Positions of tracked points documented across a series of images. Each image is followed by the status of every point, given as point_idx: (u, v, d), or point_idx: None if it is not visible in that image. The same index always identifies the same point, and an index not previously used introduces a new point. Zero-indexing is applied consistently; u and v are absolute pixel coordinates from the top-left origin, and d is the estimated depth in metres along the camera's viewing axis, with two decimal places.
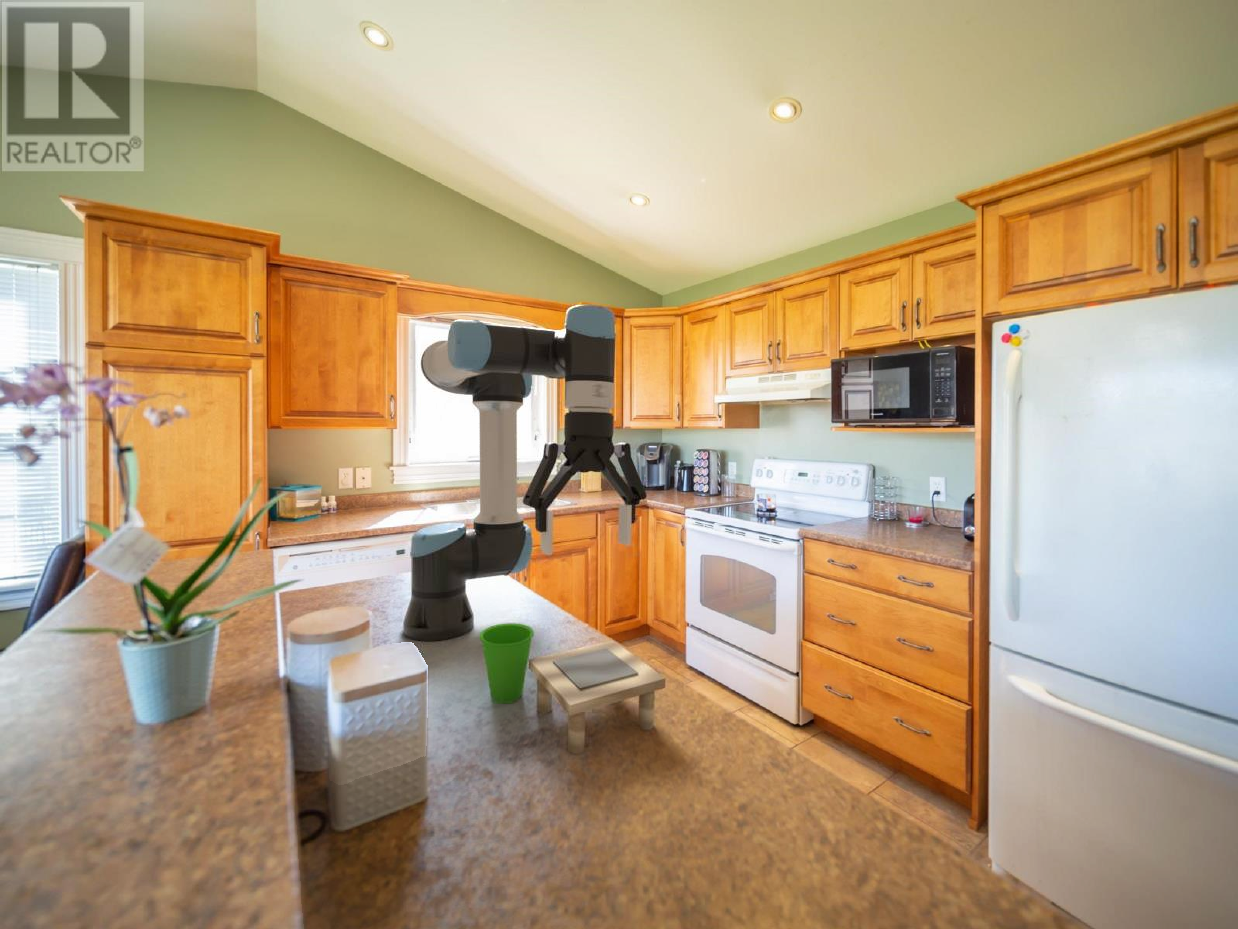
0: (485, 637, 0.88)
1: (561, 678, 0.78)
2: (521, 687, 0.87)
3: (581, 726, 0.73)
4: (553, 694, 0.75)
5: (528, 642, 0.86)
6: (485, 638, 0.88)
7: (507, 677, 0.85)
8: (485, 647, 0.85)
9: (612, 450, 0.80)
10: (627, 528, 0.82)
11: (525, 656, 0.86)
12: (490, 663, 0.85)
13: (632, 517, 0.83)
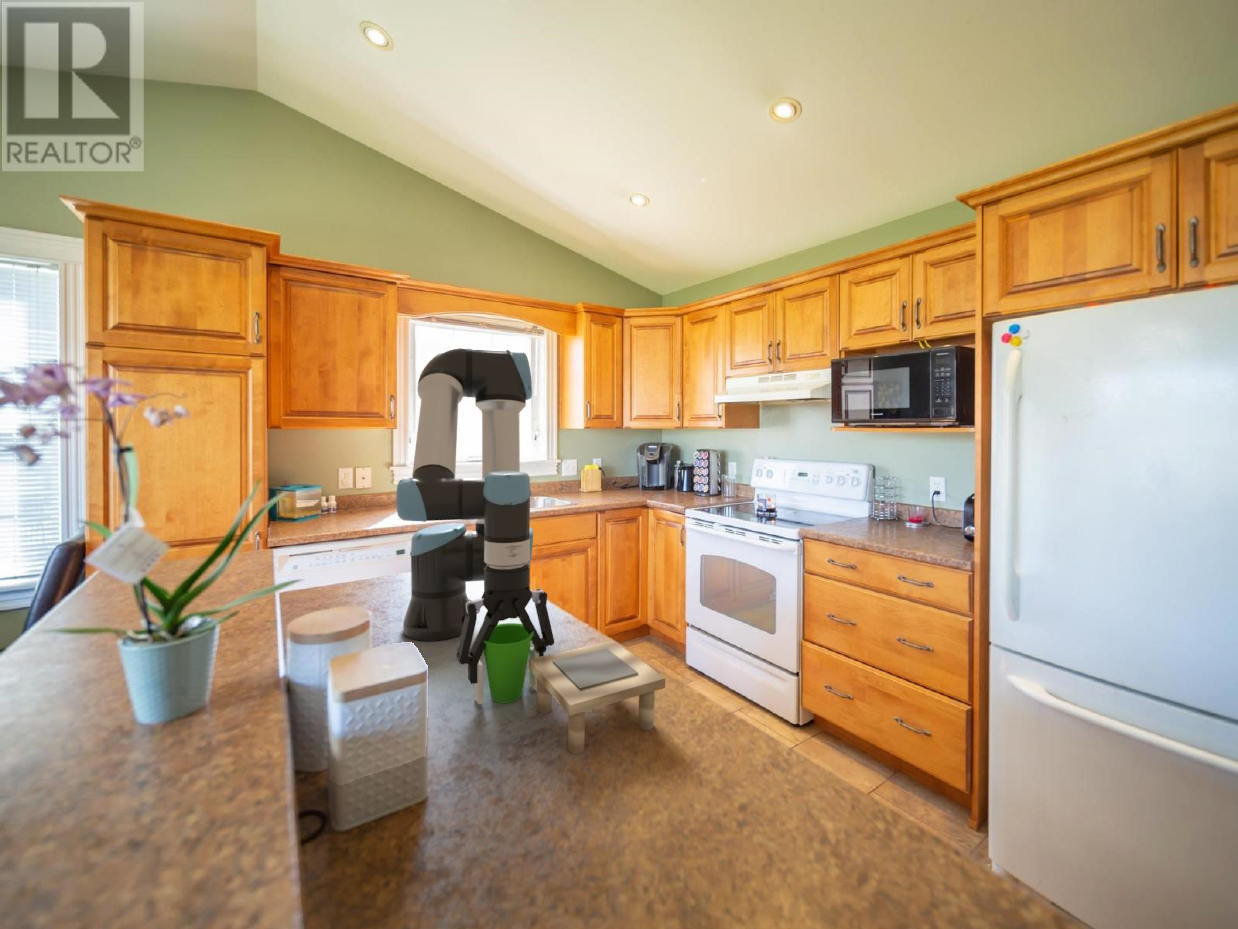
0: None
1: (561, 678, 0.78)
2: (521, 687, 0.87)
3: (581, 726, 0.73)
4: (553, 694, 0.75)
5: (528, 642, 0.86)
6: None
7: (507, 677, 0.84)
8: (485, 647, 0.85)
9: (529, 597, 0.88)
10: None
11: (525, 656, 0.86)
12: (490, 663, 0.85)
13: None
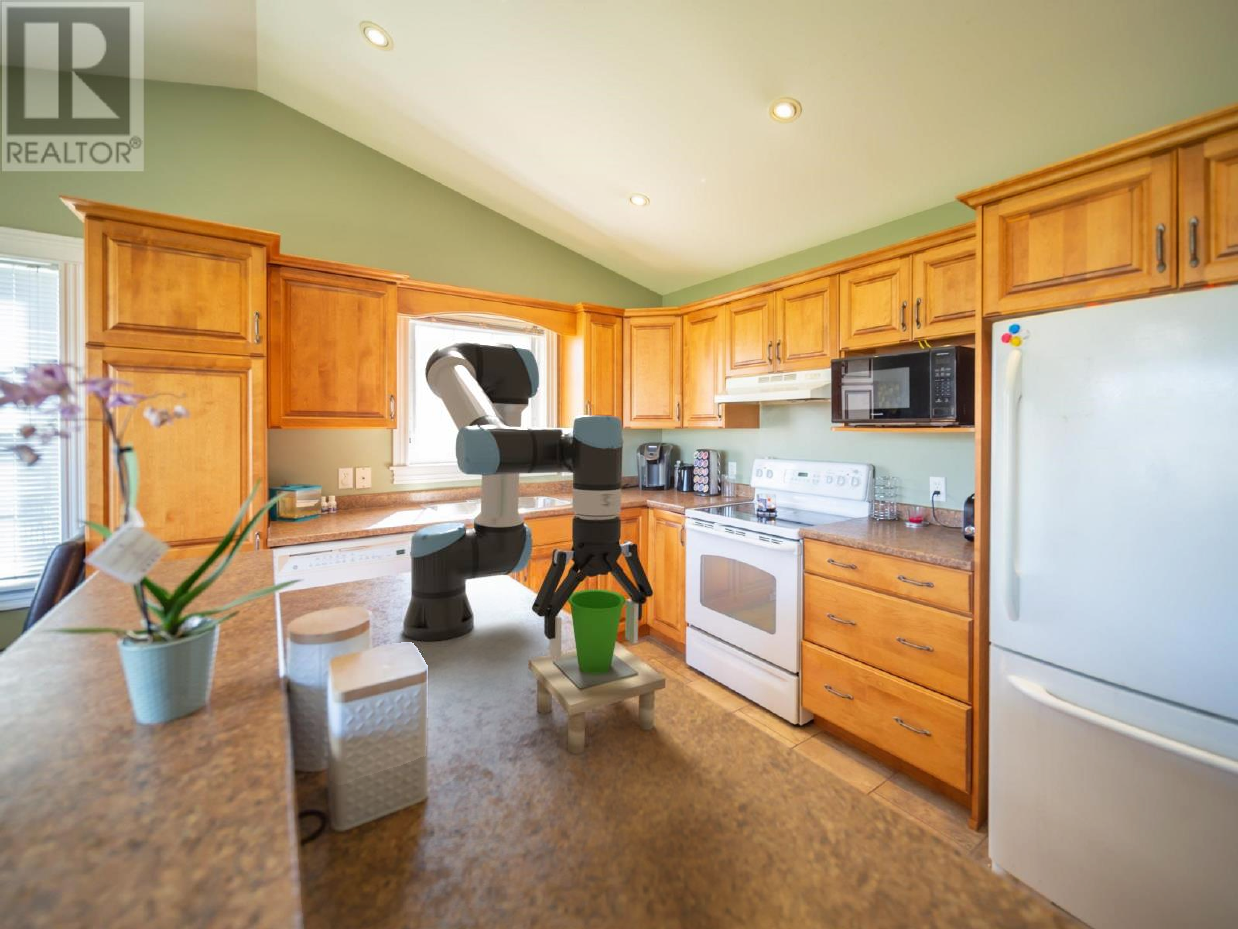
0: (572, 603, 0.81)
1: (561, 678, 0.78)
2: (611, 657, 0.80)
3: (581, 726, 0.73)
4: (553, 694, 0.75)
5: (621, 608, 0.79)
6: None
7: (599, 645, 0.78)
8: (576, 612, 0.78)
9: (619, 552, 0.81)
10: (633, 627, 0.83)
11: (617, 623, 0.79)
12: (581, 630, 0.78)
13: (639, 614, 0.84)
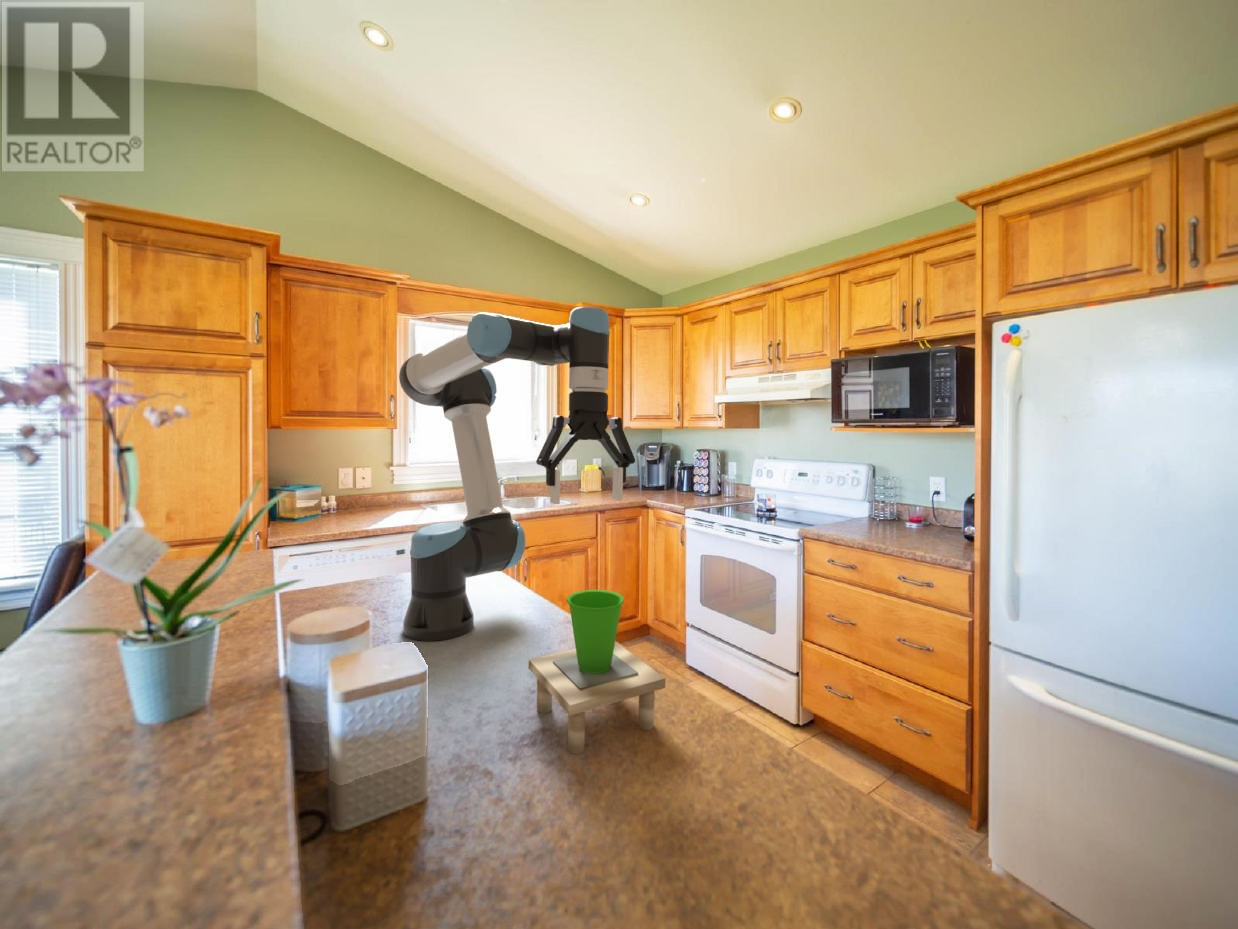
0: (571, 603, 0.81)
1: (561, 678, 0.78)
2: (611, 657, 0.80)
3: (581, 726, 0.73)
4: (553, 694, 0.75)
5: (620, 607, 0.79)
6: (571, 604, 0.81)
7: (599, 645, 0.78)
8: (575, 612, 0.78)
9: (607, 423, 1.00)
10: (619, 486, 1.02)
11: (616, 623, 0.79)
12: (580, 630, 0.78)
13: (623, 477, 1.03)
